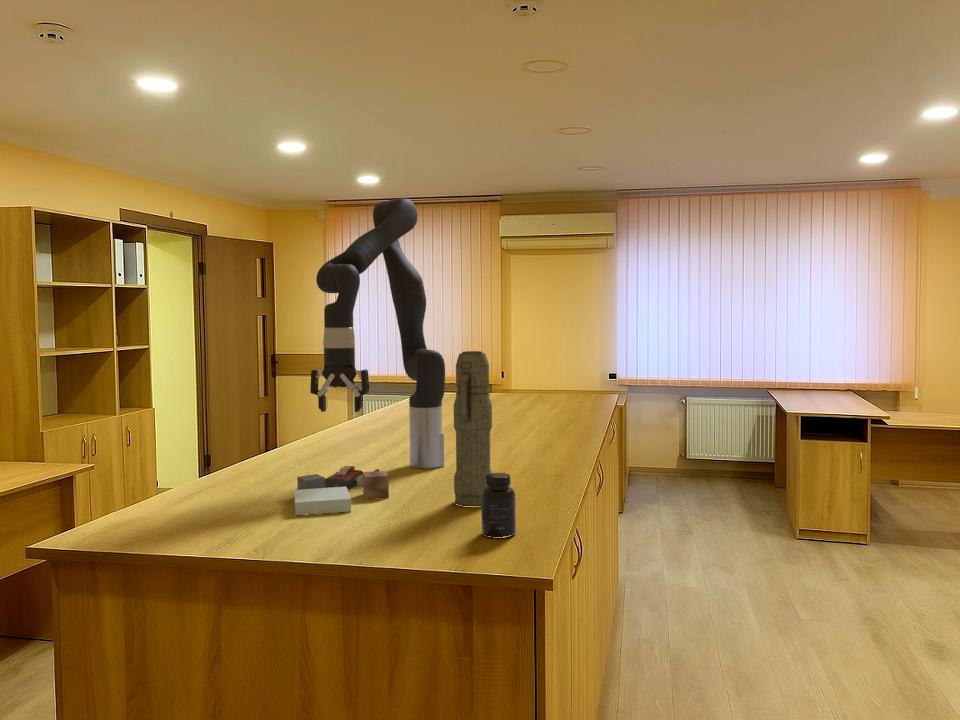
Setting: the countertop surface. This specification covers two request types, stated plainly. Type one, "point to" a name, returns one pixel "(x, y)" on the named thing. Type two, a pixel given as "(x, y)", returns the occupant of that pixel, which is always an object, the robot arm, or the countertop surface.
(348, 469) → the walkie-talkie
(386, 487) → the walnut cube
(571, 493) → the countertop surface
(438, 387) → the robot arm
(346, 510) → the pedestal
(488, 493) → the supplement bottle
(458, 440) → the thermos
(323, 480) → the charcoal block
